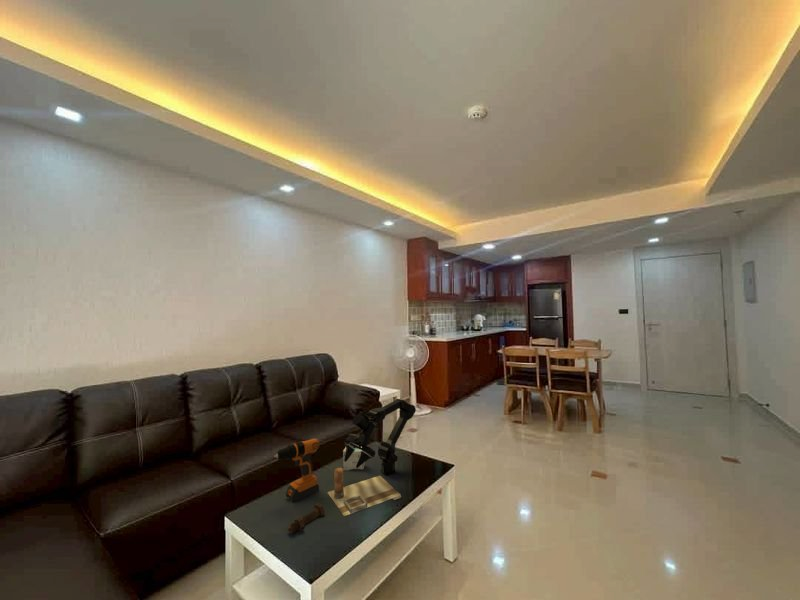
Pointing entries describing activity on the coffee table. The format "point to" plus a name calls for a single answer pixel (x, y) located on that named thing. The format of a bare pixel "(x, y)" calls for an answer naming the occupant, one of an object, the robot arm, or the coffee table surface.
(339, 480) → the brown piece
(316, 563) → the coffee table surface
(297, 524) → the bolt
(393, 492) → the subfloor panel
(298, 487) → the power drill
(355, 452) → the light bulb box
